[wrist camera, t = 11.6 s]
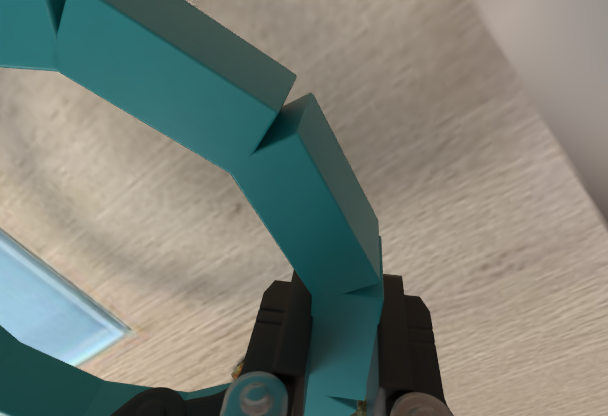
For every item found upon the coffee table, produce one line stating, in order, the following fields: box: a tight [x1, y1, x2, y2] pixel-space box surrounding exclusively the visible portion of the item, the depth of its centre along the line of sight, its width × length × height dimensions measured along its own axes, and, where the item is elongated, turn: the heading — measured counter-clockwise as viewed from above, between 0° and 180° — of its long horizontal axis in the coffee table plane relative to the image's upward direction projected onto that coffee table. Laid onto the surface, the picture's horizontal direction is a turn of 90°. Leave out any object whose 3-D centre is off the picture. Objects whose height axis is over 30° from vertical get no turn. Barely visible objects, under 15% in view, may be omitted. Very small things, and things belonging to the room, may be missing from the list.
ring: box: [0, 0, 384, 416], centre depth 12 cm, size 16×16×2 cm
